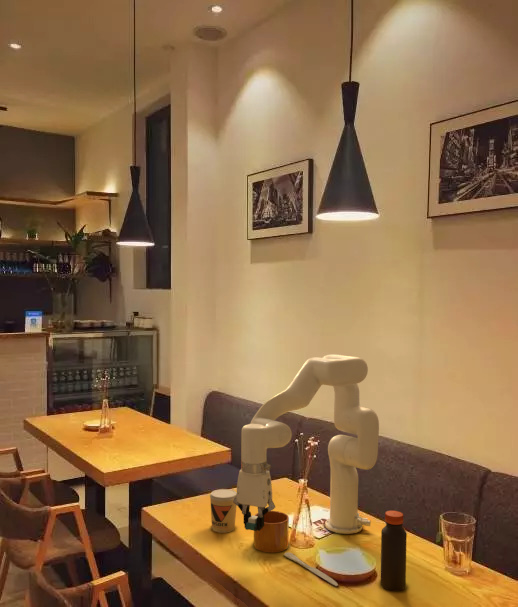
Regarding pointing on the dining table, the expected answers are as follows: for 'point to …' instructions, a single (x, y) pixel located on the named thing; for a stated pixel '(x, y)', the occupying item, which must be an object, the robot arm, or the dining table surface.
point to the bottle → (393, 552)
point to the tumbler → (273, 532)
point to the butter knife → (310, 568)
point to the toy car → (252, 523)
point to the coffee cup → (223, 510)
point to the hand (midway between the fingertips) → (253, 527)
